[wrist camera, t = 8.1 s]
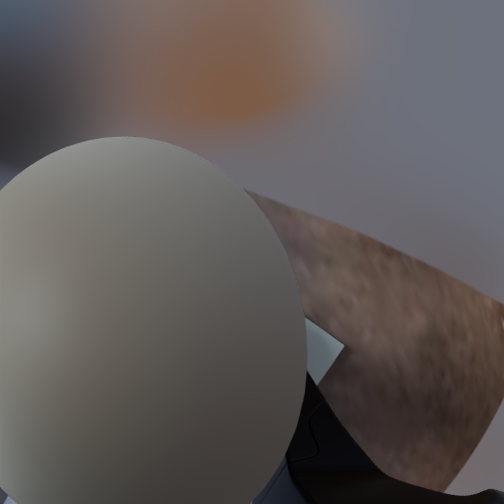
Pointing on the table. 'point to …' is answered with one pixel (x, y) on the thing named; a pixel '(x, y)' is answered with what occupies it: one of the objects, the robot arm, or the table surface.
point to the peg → (143, 331)
